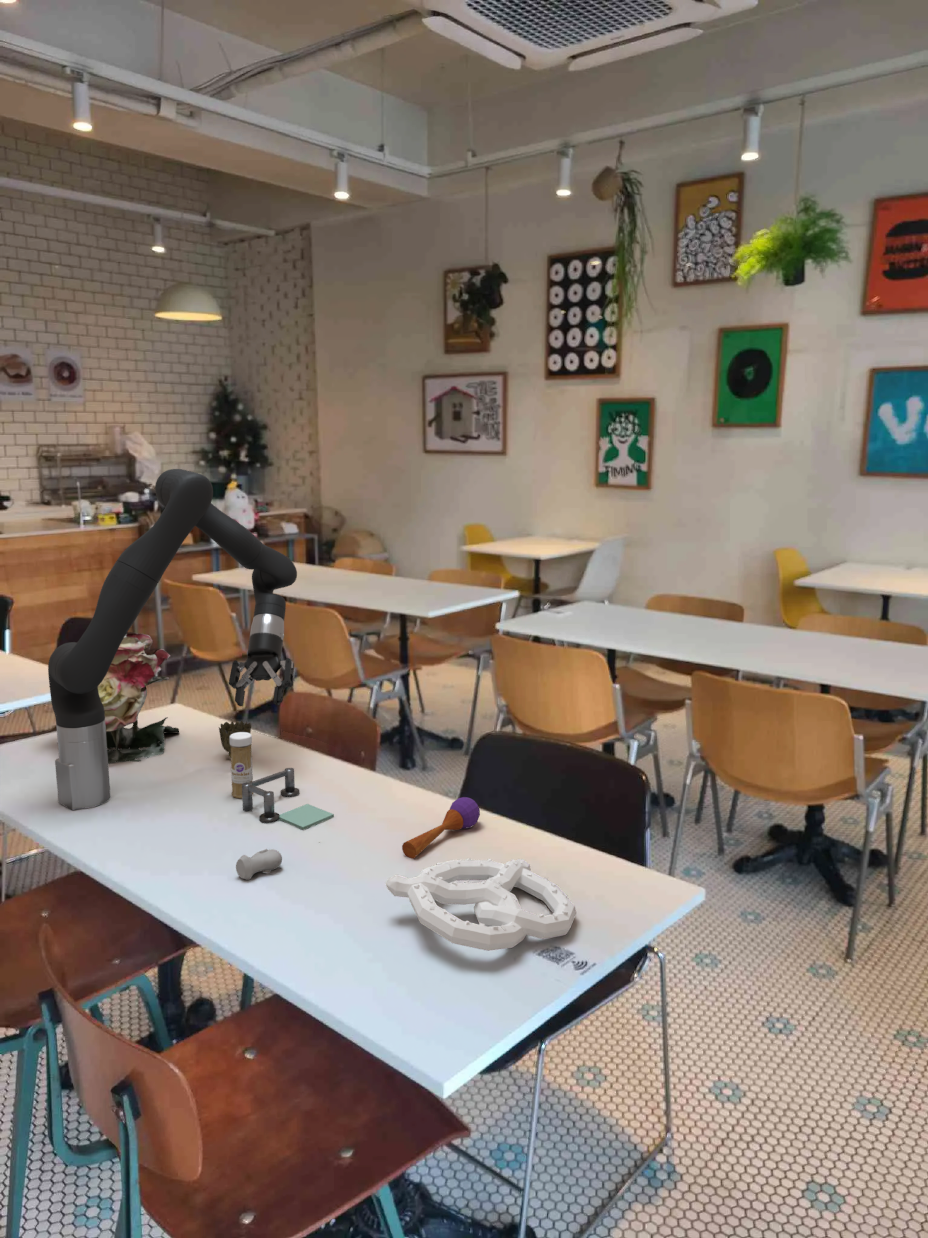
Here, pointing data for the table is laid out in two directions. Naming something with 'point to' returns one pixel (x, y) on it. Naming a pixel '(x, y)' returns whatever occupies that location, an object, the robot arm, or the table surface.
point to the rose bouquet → (132, 700)
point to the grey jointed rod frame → (268, 794)
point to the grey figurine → (258, 863)
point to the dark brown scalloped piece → (230, 729)
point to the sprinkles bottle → (240, 761)
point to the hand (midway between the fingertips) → (258, 704)
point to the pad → (305, 816)
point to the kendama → (445, 825)
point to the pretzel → (485, 902)
